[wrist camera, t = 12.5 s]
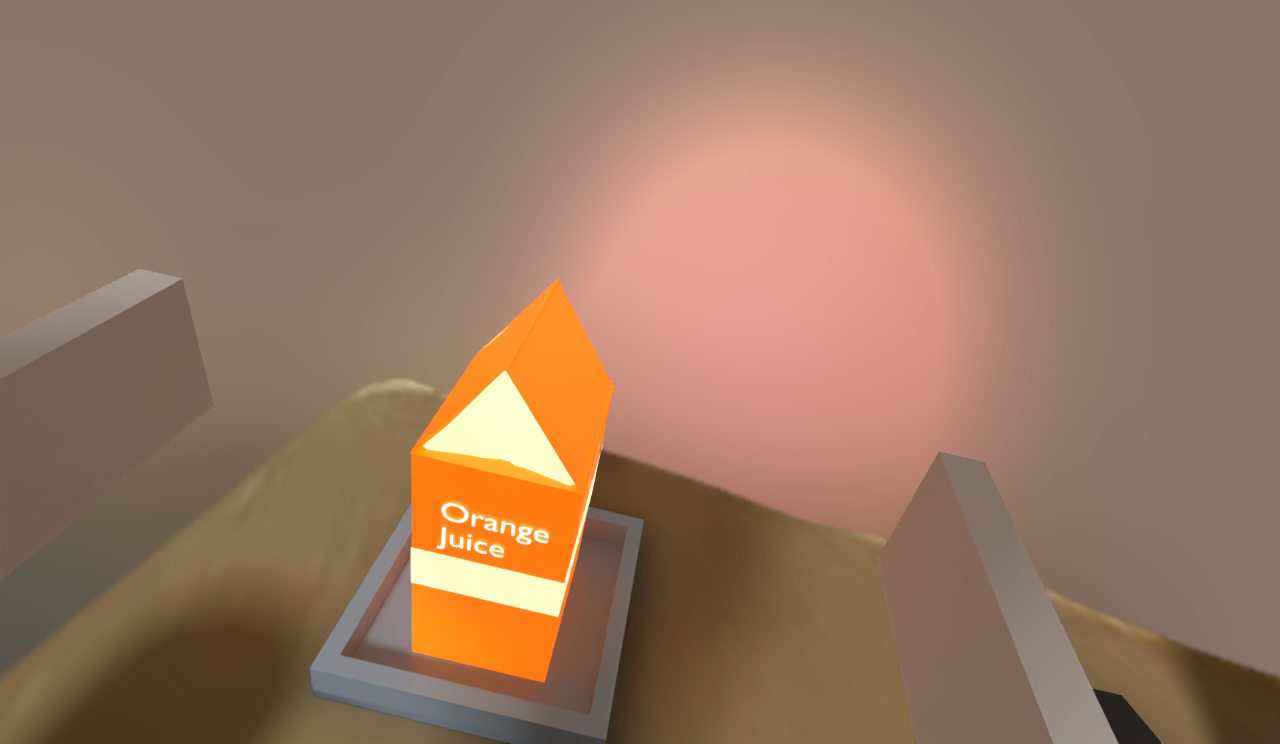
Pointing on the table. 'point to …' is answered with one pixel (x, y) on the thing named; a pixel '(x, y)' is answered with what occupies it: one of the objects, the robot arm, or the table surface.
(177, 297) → the robot arm
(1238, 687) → the table surface
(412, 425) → the table surface
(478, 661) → the orange juice
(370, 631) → the dish
